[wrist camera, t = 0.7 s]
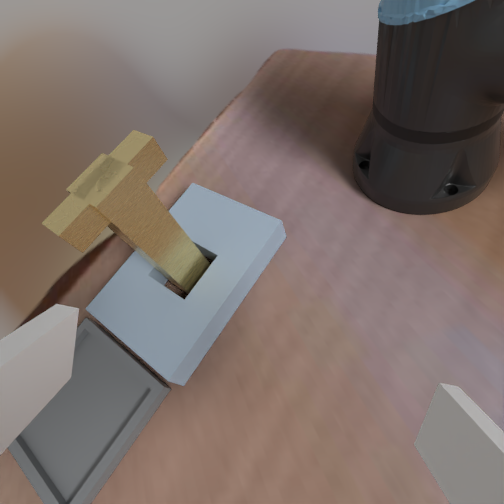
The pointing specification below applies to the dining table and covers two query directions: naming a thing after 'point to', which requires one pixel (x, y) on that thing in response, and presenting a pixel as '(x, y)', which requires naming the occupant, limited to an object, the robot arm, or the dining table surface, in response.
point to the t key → (129, 211)
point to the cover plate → (204, 292)
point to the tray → (88, 420)
